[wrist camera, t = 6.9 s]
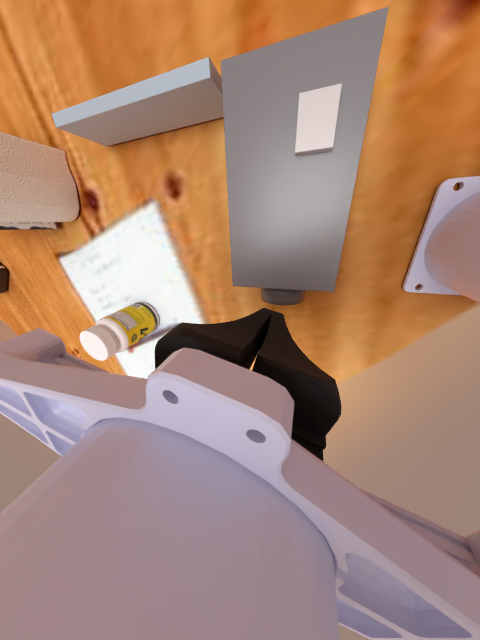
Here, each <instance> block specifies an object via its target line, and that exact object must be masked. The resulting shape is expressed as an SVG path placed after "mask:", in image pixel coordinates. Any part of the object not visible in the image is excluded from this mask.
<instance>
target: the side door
mask: <svg viewBox="0 0 480 640" xmlns="http://www.w3.org/2000/svg"><path fill="white" fill-rule="evenodd" d="M52 117H53V120H54V123H55V126H56V128H59V129H62V130H64V131H67V132H70V133H72V134H75V135H78V136H80V137H83V138H86V139H88V140H91V141H94V142H96V143H99V144H102V145H104V146H109V145H113V144H117V143H121V142H125V141H129V140H133V139H137V138H141V137H145V136H149V135H153V134H157V133H161V132H165V131H169V130H173V129H177V128H181V127H185V126H189V125H193V124H198V123H202V122H206V121H210V120H214V119H218V118H222V117H224V111H223V93H222V78H221V76H220V74H219V73H218V71H217V70H216V68H215V66H214V65H213V63H212V61H211V60H210V58H209V57H207V58H204V59H202V60H199V61H196V62H193V63H191V64H188V65H185V66H182V67H180V68H177V69H174V70H171V71H169V72H166V73H163V74H160V75H158V76H155V77H152V78H149V79H147V80H144V81H141V82H138V83H136V84H133V85H130V86H127V87H125V88H122V89H119V90H116V91H113V92H111V93H108V94H105V95H102V96H100V97H97V98H94V99H91V100H89V101H86V102H83V103H80V104H78V105H75V106H72V107H69V108H67V109H64V110H61V111H58V112H56V113H53V114H52Z"/></svg>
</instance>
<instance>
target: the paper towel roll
mask: <svg viewBox="0 0 480 640" xmlns="http://www.w3.org/2000/svg"><path fill="white" fill-rule="evenodd" d="M79 208H80V207H79V201H78V195H77V190H76V184H75V182H74V180H73V177H72V175H71V173H70V171H69V168H68V165H67V161H66V158H65V151H64V150H60V149H57V148H54V147H50V146H47V145H43V144H40V143H37V142H33V141H30V140H26V139H23V138H20V137H16V136H13V135H9V134H6V133H2V132H0V222H71V221H74V220H75V219H76V218H77V217H78V214H79Z"/></svg>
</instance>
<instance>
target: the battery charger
mask: <svg viewBox="0 0 480 640" xmlns="http://www.w3.org/2000/svg"><path fill="white" fill-rule="evenodd" d="M7 284H8V273H7V270H6V268H5V267H4V266H2V265H1V264H0V293H4V292H6V291H7Z"/></svg>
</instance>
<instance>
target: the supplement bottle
mask: <svg viewBox="0 0 480 640" xmlns="http://www.w3.org/2000/svg"><path fill="white" fill-rule="evenodd" d="M158 325H159V317H158V314H157V312H156V311H155V309H154V308H153V307H151V306H150V305H149V304H147V303H144V302H137V303H135V304H133V305H130V306H128V307H126V308H124V309H122V310H120V311H117V312H115V313H113V314H111V315H109V316H106V317H104V318H102V319H100V320H99V321H98V322H97V323H96V325H95V326H92V327H90V328H88V329H86V330H84V331H83V332H81V334H80V341H81V344H82V346H83V347H84V349H85V350H86V351H87V352H88V353H89V354H90V355H91V356H92V357H93V358H95V359H97V360H101V361H103V360H106V359H108V358H109V357H111V356H113V355H114V354H115V353H117V352H123V351H125V350H127V349H128V348H129V347H131V346H132V345H134V344H135V343H137V342H138V341H140V340H141V339H143V338H144V337H145V336H147V335H148V334H150V333H151V332H153V331H154V330H156V329H157V327H158Z"/></svg>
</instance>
